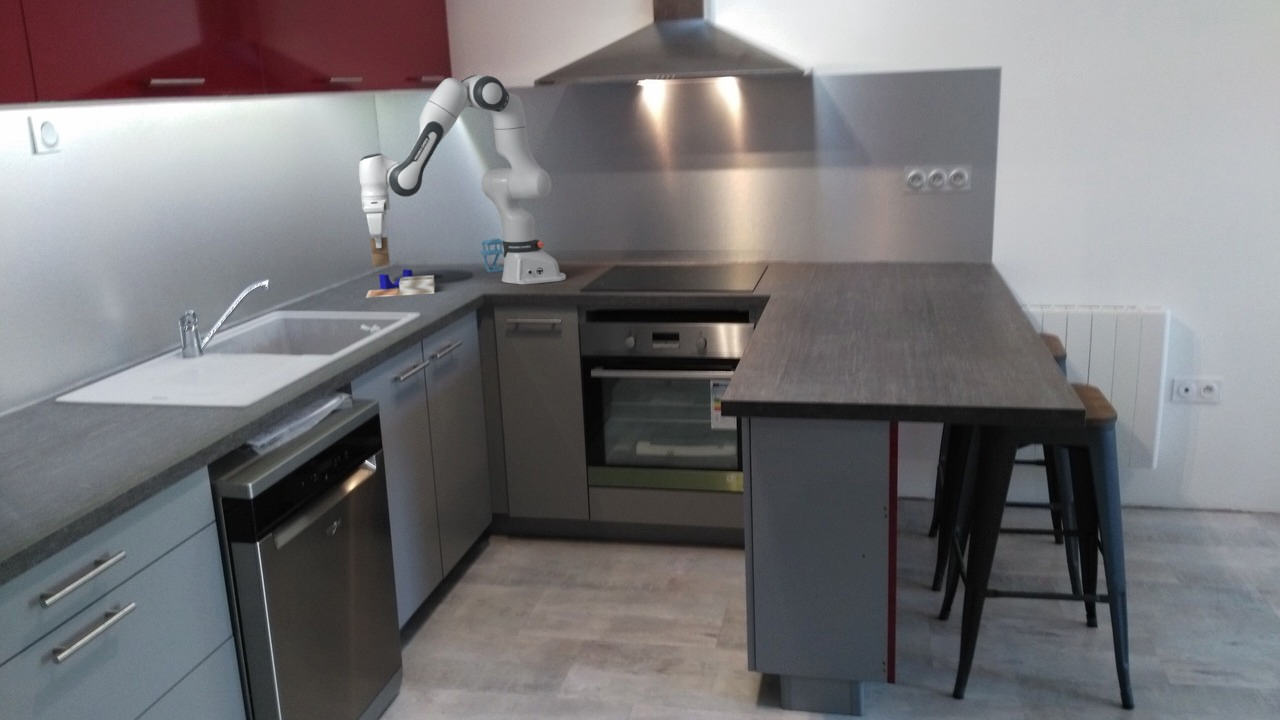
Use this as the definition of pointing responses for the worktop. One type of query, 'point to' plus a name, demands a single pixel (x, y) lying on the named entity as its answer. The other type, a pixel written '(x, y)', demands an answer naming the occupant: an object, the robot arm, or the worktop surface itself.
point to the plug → (380, 253)
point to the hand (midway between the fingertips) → (379, 246)
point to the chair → (491, 252)
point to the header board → (408, 287)
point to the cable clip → (386, 282)
